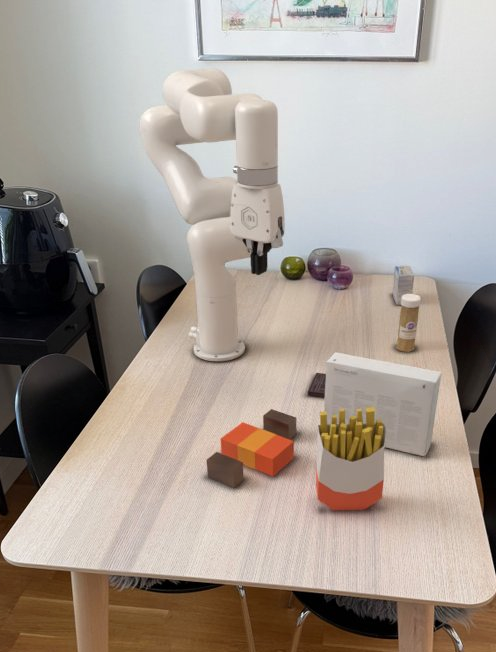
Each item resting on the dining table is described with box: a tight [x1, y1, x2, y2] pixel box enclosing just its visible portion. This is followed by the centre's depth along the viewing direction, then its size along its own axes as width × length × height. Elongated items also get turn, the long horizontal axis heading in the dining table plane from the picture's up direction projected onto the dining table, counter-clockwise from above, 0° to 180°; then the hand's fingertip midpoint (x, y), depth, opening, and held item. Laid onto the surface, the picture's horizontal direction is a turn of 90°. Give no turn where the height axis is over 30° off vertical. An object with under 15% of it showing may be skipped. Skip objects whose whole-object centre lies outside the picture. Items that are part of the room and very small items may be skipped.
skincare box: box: [323, 351, 442, 457], centre depth 128 cm, size 21×6×16 cm, turn 65°
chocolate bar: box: [307, 372, 326, 399], centre depth 148 cm, size 9×1×18 cm
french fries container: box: [315, 407, 386, 511], centre depth 111 cm, size 5×11×18 cm, turn 91°
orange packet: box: [220, 421, 295, 477], centre depth 126 cm, size 12×7×4 cm, turn 55°
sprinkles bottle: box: [396, 293, 422, 353], centre depth 161 cm, size 5×5×13 cm
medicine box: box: [392, 265, 415, 306], centre depth 188 cm, size 8×4×9 cm, turn 179°
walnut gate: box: [206, 408, 298, 489], centre depth 127 cm, size 6×21×4 cm, turn 146°
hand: (259, 272), depth 134 cm, fingers closed
